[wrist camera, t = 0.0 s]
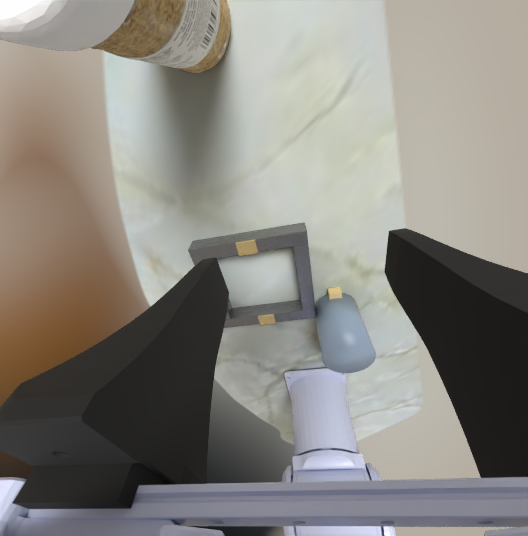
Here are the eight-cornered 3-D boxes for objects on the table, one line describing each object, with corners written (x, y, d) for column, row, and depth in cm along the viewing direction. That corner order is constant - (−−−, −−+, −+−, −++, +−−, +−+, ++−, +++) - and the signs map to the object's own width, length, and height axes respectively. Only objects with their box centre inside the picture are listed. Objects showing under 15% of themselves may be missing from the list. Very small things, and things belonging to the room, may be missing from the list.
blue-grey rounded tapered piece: (355, 324, 27) (373, 375, 23) (315, 328, 28) (324, 379, 23) (356, 284, 24) (378, 334, 19) (311, 290, 25) (320, 339, 20)
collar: (314, 306, 26) (316, 318, 25) (224, 317, 27) (222, 329, 26) (304, 222, 20) (306, 232, 19) (192, 241, 22) (187, 251, 20)
